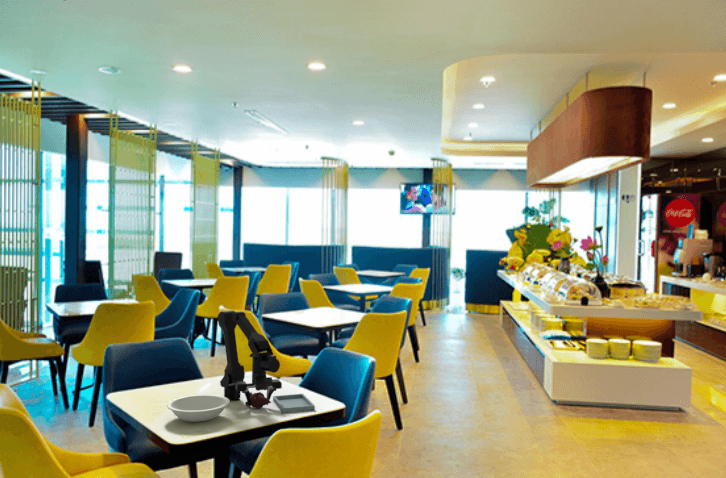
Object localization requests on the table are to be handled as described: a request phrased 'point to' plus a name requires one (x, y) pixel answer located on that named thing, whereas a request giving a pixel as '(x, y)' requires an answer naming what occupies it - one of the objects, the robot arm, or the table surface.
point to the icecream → (257, 400)
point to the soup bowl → (198, 407)
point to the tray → (293, 403)
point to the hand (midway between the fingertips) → (258, 405)
